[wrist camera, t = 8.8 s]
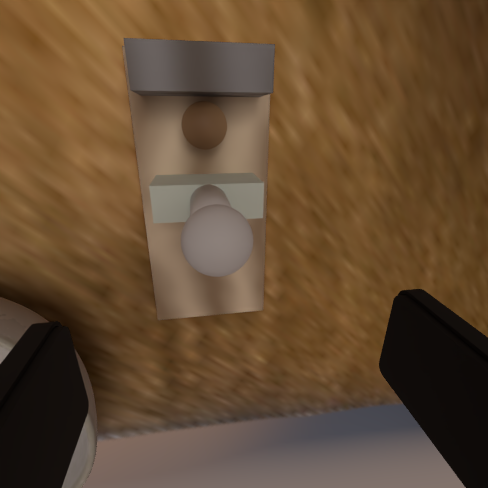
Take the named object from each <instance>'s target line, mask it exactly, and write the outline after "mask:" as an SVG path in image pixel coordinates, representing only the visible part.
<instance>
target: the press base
mask: <svg viewBox="0 0 488 488" xmlns="http://www.w3.org/2000/svg"><path fill="white" fill-rule="evenodd" d="M122 48H123V56H124V63H125V71H126V79H127V87H128V94H129V102H130V110H131V117H132V125H133V133H134V140H135V148H136V156H137V163H138V171H139V179H140V186H141V194H142V202H143V209H144V217H145V225H146V232H147V240H148V248H149V256H150V263H151V271H152V279H153V286H154V294H155V302H156V309H157V317H158V320H166V319H177V318H187V317H197V316H208V315H218V314H229V313H239V312H250V311H260V310H263V299H264V268H265V237H266V205H267V174H268V143H269V111H270V94H271V93H273V81H274V53H275V44H255V43H231V42H207V41H183V40H159V39H134V38H124V46H122ZM199 101H208V102H211V103H213V104H215V105H217V106H218V107H219V108H220V109H221V110H222V112H223V113H224V115H225V118H226V121H227V132H226V135H225V137H224V139H223V141H222V142H221V143H220V144H219V145H218V146H216V147H214V148H212V149H207V150H204V149H199V148H196V147H194V146H193V145H191V144H190V143H189V142H188V141H187V140H186V138H185V136H184V134H183V131H182V124H181V123H182V117H183V114H184V112H185V111H186V109H187V108H188V107H189V106H190V105H192V104H193V103H195V102H199ZM221 173H253V174H255V175H256V176H257V177H258V178H259V179H260V180H261V181H263V182H264V203H263V218H256V219H246V220H247V221H248V223H249V225H250V227H251V230H252V233H253V248H252V252H251V254H250V257H249V259H248V260H247V262H246V263H245V264H244V265H243V266H242V267H241V268H240V269H239V270H237V271H236V272H234V273H232V274H230V275H227V276H222V277H213V276H207V275H204V274H202V273H200V272H198V271H197V270H195V269H194V268H193V267H192V266H191V265H190V264H189V263H188V262H187V260H186V259H185V257H184V254H183V252H182V248H181V233H182V229H183V227H184V224H185V223H186V222H173V223H153V214H152V206H151V198H150V189H149V186H150V184H151V182H152V181H153V179H154V178H155V176H156V175H180V174H221Z"/></svg>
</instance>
